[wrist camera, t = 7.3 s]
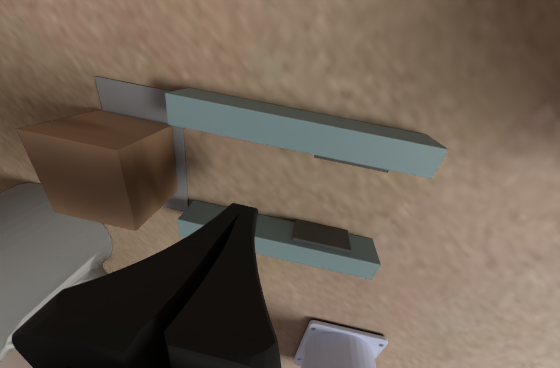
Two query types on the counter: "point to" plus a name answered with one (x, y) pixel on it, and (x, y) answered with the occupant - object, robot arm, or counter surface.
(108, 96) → the felt pad
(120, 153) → the walnut block
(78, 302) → the robot arm
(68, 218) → the coffee mug
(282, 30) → the counter surface
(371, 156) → the clamp jaws
